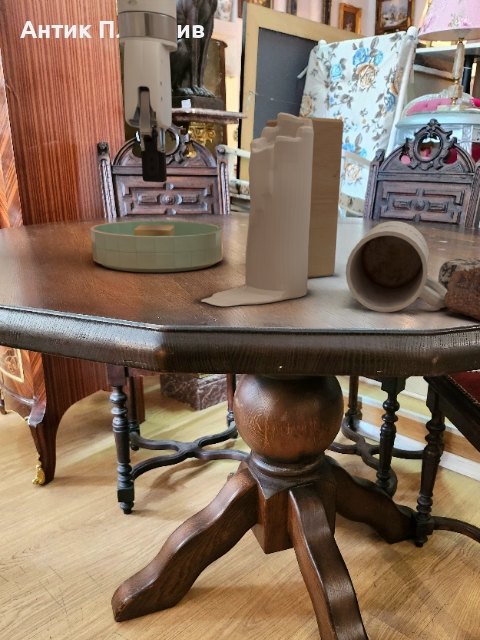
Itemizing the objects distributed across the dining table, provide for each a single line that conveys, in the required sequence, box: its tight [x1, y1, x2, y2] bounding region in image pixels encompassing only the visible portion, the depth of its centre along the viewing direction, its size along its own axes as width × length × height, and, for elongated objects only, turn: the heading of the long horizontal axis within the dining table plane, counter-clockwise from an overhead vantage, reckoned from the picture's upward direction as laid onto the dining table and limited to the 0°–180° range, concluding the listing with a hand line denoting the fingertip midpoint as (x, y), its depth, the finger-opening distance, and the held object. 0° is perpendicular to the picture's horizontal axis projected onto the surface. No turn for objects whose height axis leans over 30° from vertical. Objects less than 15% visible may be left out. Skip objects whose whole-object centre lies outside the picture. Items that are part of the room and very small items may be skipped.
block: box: [134, 225, 175, 236], centre depth 80 cm, size 5×5×5 cm
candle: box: [200, 112, 314, 307], centre depth 62 cm, size 7×14×20 cm, turn 133°
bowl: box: [89, 220, 224, 273], centre depth 84 cm, size 19×19×5 cm
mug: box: [345, 220, 447, 313], centre depth 64 cm, size 12×9×10 cm
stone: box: [444, 267, 480, 321], centre depth 59 cm, size 7×7×3 cm
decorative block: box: [265, 116, 344, 279], centre depth 78 cm, size 11×6×20 cm, turn 31°
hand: (154, 181), depth 81 cm, fingers closed
